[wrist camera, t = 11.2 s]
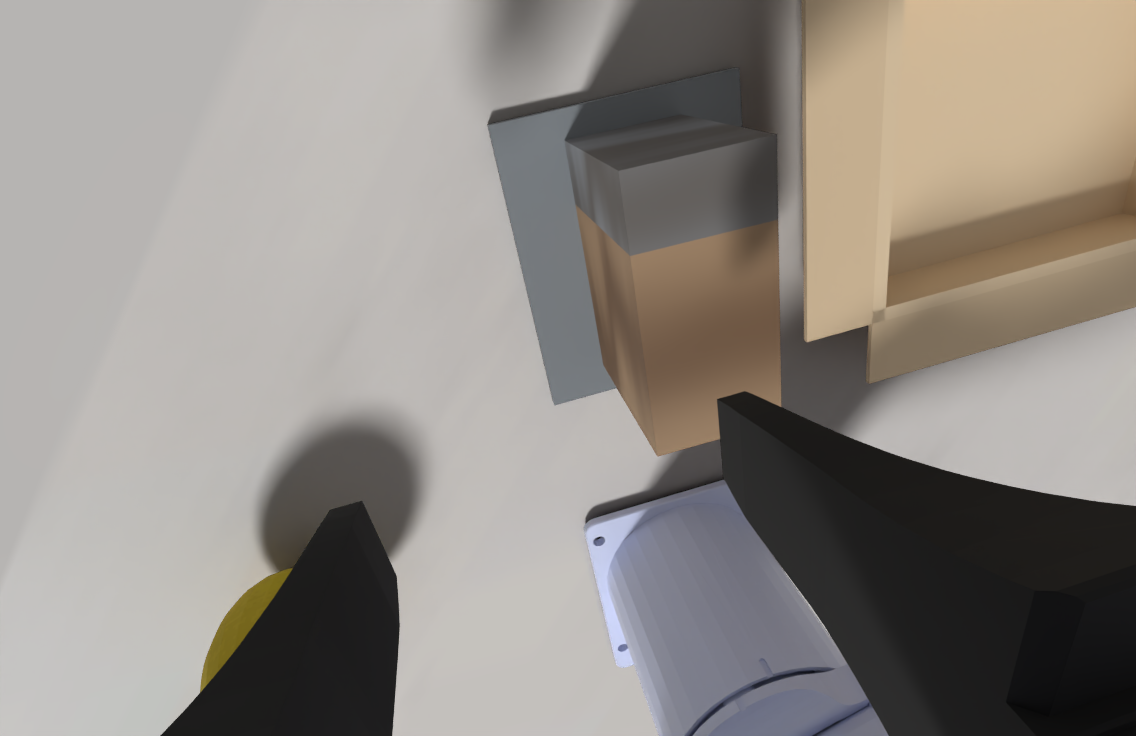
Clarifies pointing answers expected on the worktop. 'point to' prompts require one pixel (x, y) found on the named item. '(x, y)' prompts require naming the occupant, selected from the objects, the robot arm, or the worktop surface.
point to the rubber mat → (550, 216)
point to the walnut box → (682, 268)
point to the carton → (966, 172)
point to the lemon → (240, 623)
